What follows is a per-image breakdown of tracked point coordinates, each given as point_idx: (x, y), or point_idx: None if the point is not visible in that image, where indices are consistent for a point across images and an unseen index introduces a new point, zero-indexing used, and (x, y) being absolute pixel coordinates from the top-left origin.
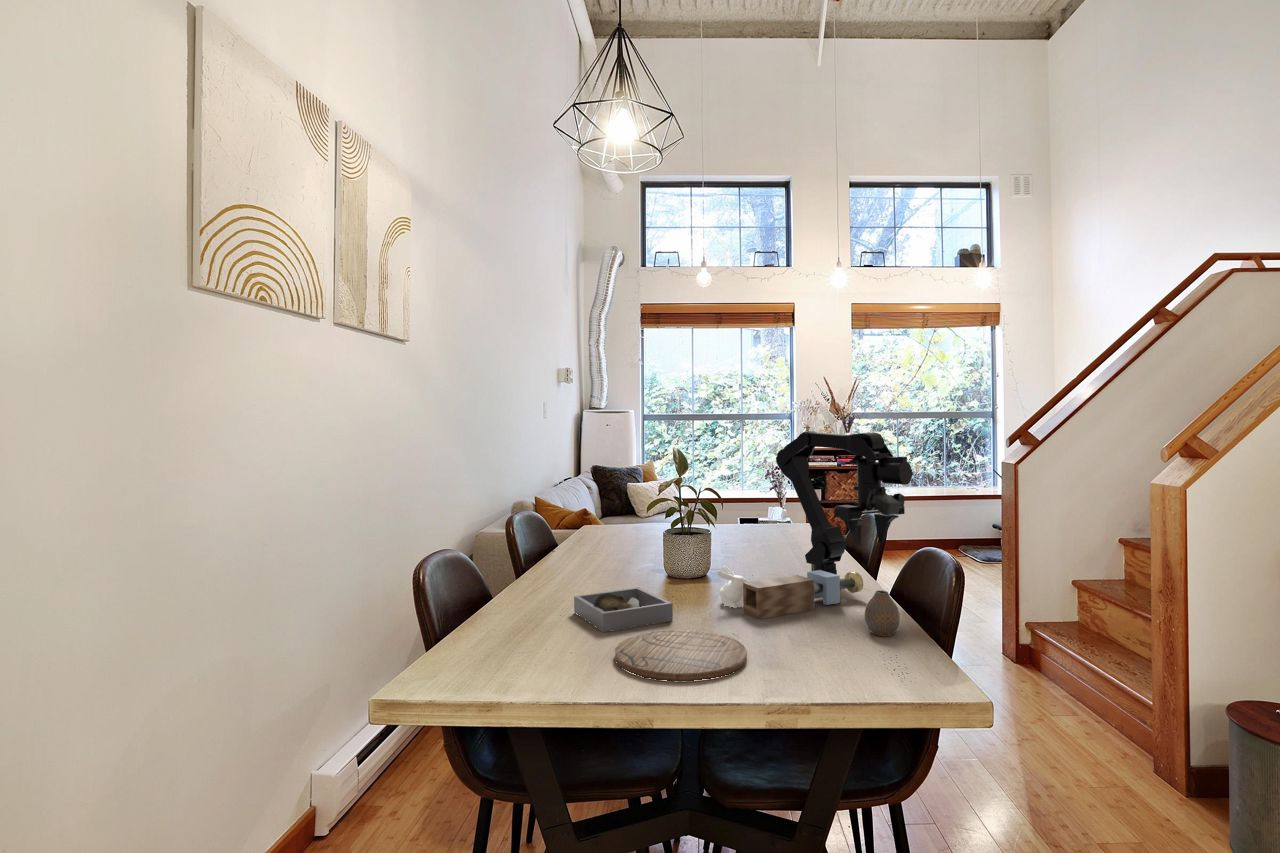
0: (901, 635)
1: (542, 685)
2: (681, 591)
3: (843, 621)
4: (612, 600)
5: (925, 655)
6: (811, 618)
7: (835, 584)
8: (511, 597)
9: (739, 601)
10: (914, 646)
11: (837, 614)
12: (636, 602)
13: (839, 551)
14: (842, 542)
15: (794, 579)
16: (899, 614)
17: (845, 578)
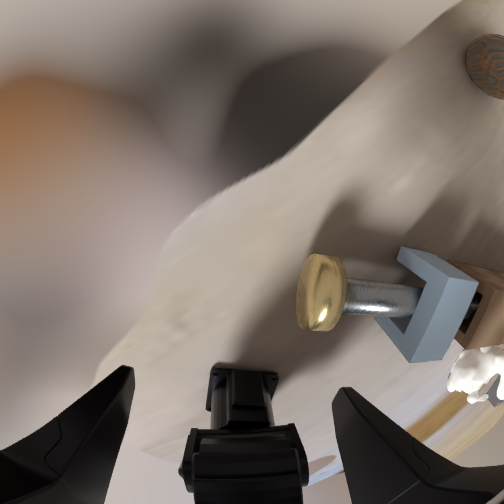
0: (461, 38)
1: None
2: (428, 428)
3: (476, 162)
4: None
5: (482, 3)
6: (488, 221)
7: (443, 268)
8: (484, 431)
9: (477, 349)
10: (475, 16)
11: (452, 200)
12: None
13: (234, 447)
14: (210, 474)
15: (500, 316)
16: (489, 34)
17: (360, 305)
